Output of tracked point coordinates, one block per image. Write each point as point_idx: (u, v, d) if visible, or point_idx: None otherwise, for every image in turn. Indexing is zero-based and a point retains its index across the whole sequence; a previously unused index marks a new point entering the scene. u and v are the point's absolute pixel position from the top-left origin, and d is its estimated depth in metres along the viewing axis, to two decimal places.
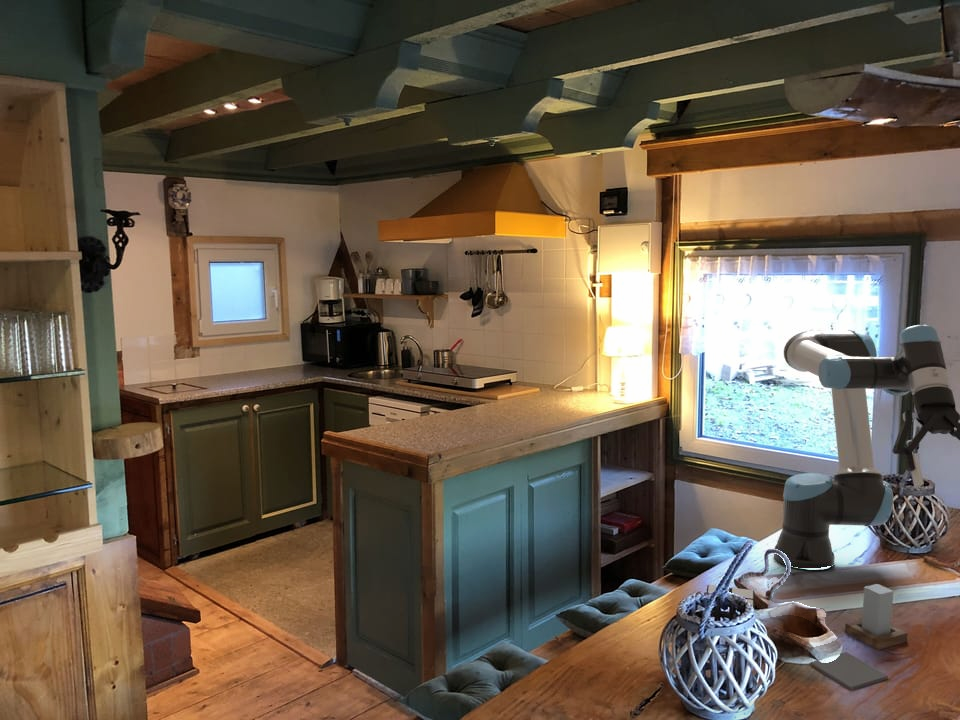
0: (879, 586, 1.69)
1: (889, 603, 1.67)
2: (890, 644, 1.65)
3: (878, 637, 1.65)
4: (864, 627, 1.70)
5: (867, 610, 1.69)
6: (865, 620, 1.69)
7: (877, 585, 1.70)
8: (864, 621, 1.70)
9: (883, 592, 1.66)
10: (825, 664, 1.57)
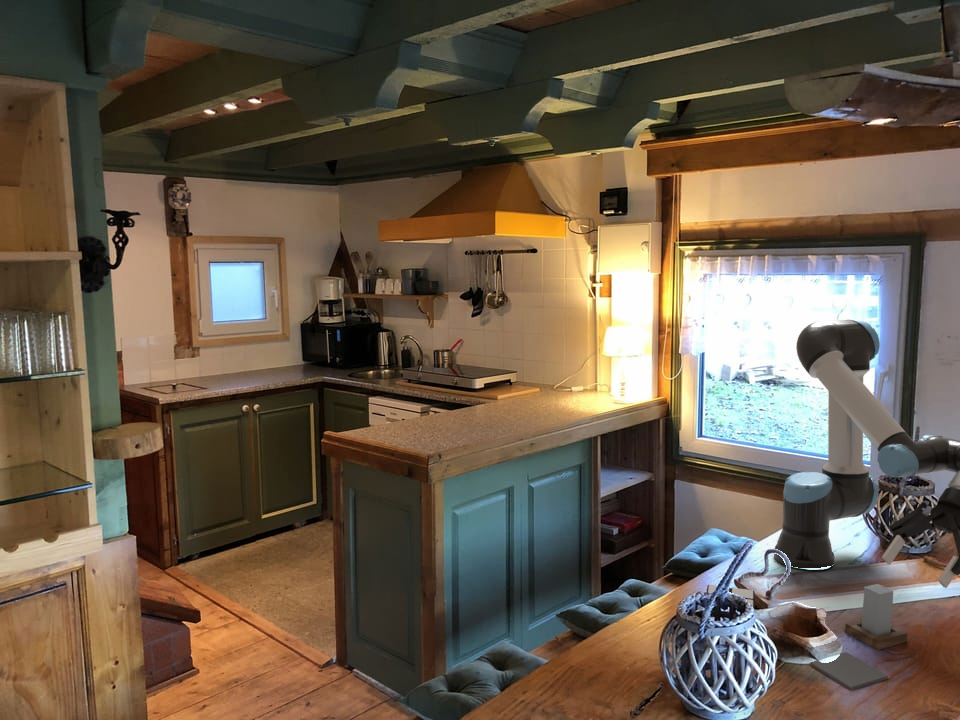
0: (879, 586, 1.69)
1: (889, 603, 1.67)
2: (890, 644, 1.65)
3: (878, 637, 1.65)
4: (864, 627, 1.70)
5: (867, 610, 1.69)
6: (865, 619, 1.69)
7: (877, 585, 1.70)
8: (864, 621, 1.70)
9: (883, 592, 1.66)
10: (825, 664, 1.57)
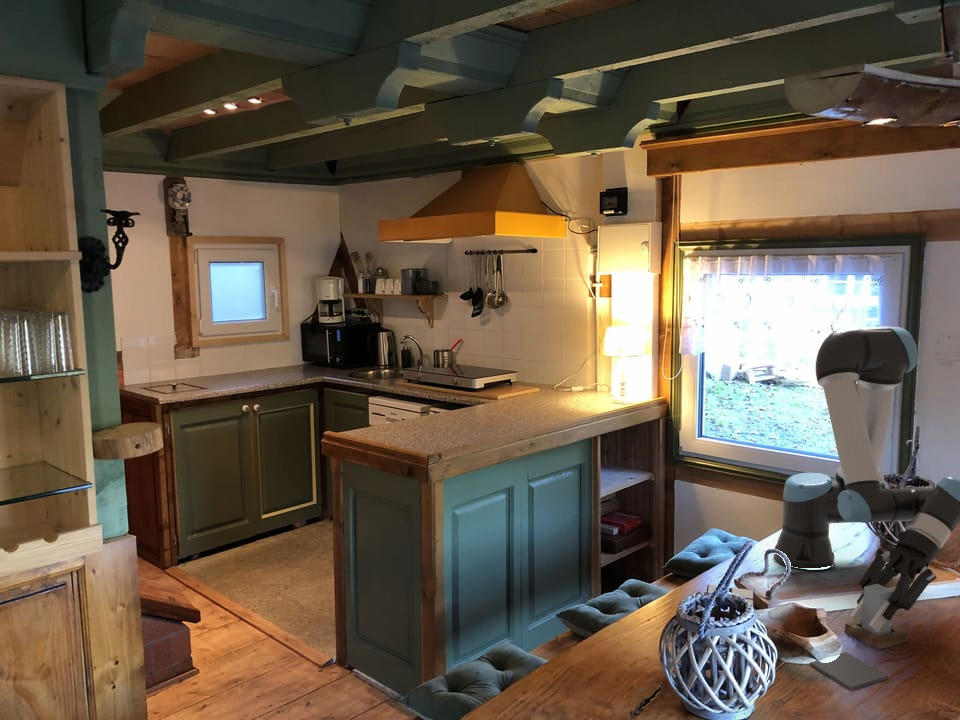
0: (879, 586, 1.69)
1: None
2: (890, 644, 1.65)
3: (878, 637, 1.65)
4: (864, 627, 1.70)
5: (867, 610, 1.69)
6: (865, 619, 1.69)
7: (877, 585, 1.70)
8: (864, 621, 1.70)
9: (883, 592, 1.66)
10: (825, 664, 1.57)
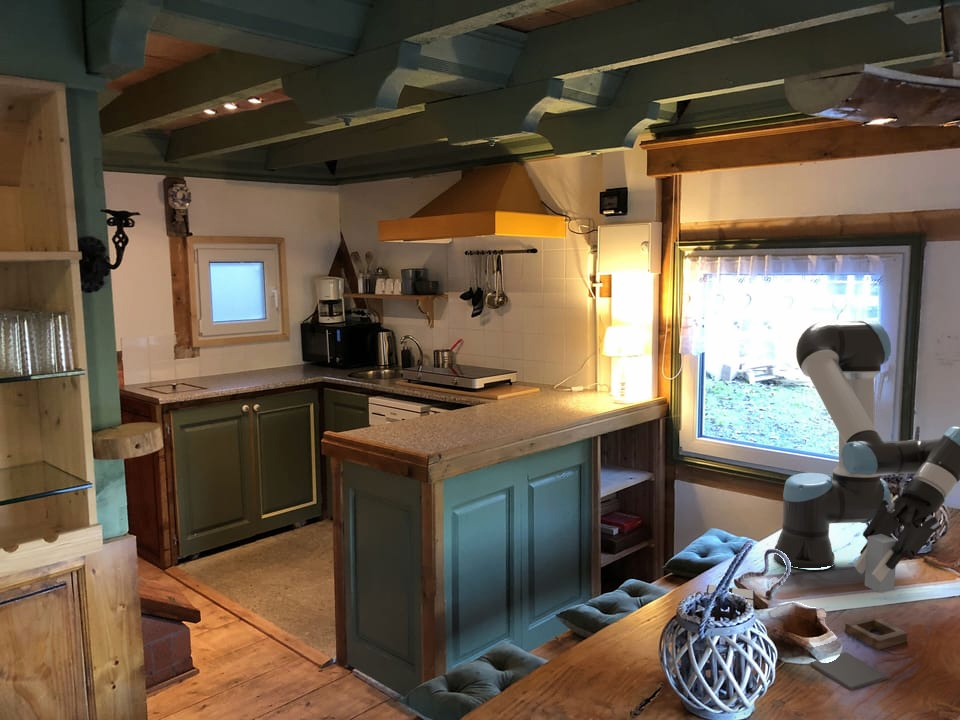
0: (883, 536, 1.66)
1: None
2: (890, 644, 1.65)
3: (878, 637, 1.65)
4: (867, 577, 1.67)
5: (870, 560, 1.66)
6: (868, 570, 1.67)
7: (881, 535, 1.67)
8: (867, 571, 1.67)
9: (886, 541, 1.63)
10: (825, 664, 1.57)
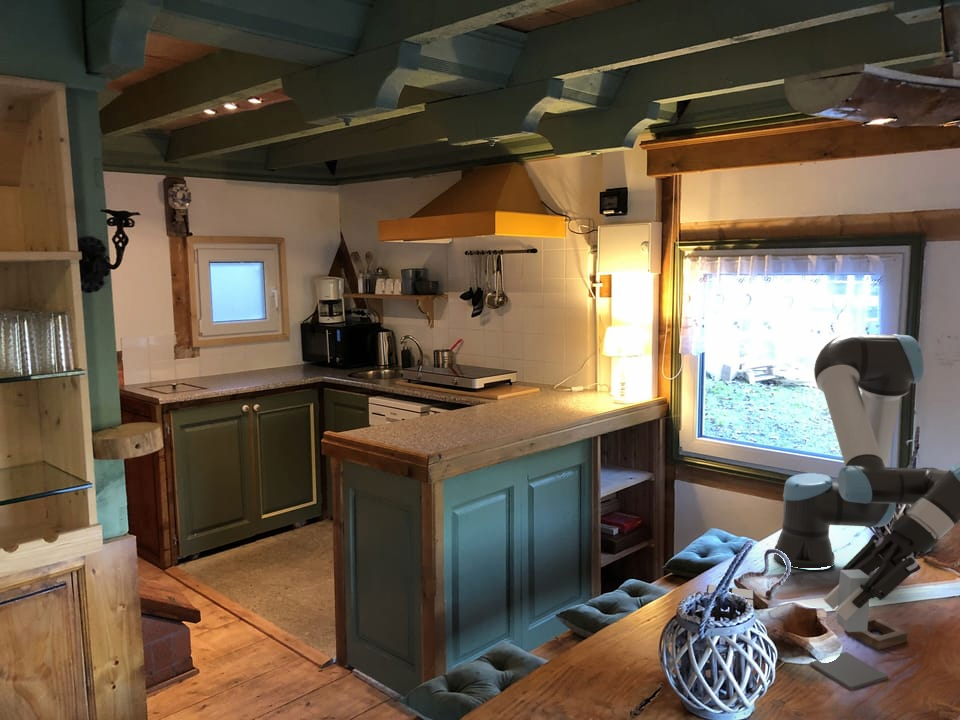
0: (858, 571, 1.54)
1: None
2: (890, 644, 1.65)
3: (878, 637, 1.65)
4: None
5: (841, 596, 1.54)
6: None
7: (858, 570, 1.54)
8: None
9: (856, 577, 1.51)
10: (825, 664, 1.57)
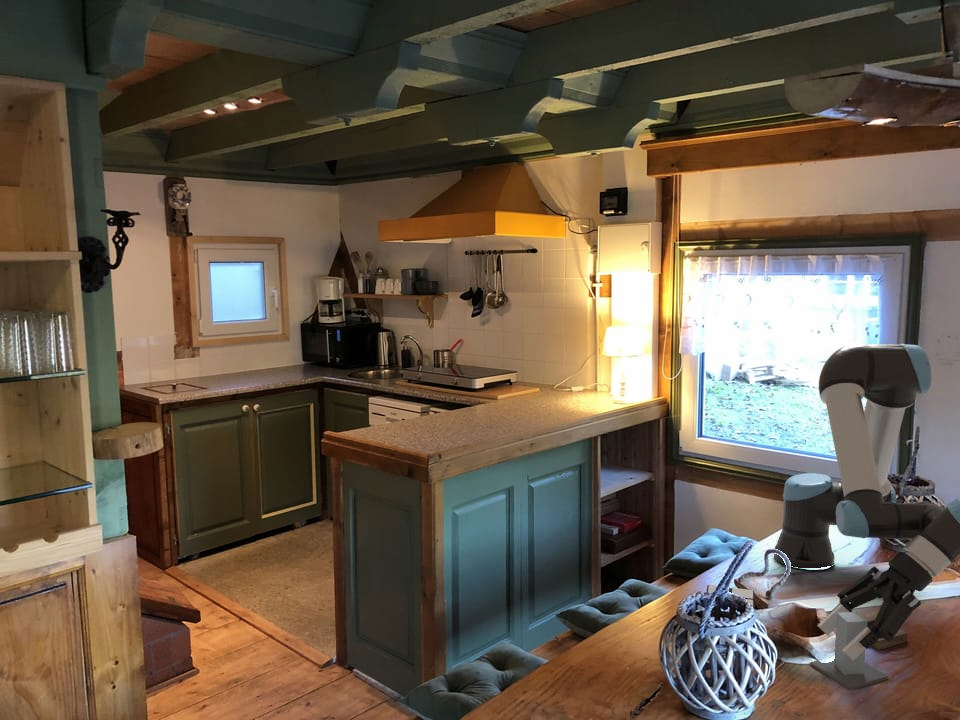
0: (855, 614, 1.55)
1: None
2: (890, 644, 1.65)
3: None
4: (836, 656, 1.57)
5: (838, 639, 1.55)
6: (837, 648, 1.56)
7: (855, 613, 1.56)
8: (836, 650, 1.56)
9: (852, 621, 1.52)
10: (825, 664, 1.57)
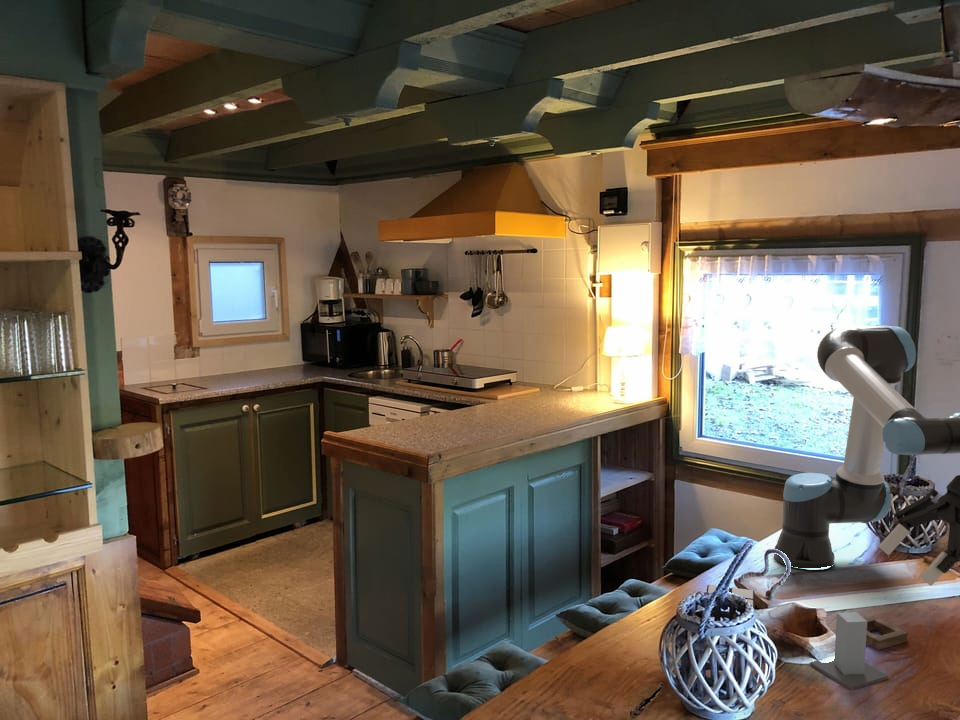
0: (855, 614, 1.55)
1: (861, 634, 1.53)
2: (890, 644, 1.65)
3: (878, 637, 1.65)
4: (836, 656, 1.57)
5: (838, 639, 1.55)
6: (837, 648, 1.56)
7: (855, 613, 1.56)
8: (836, 650, 1.56)
9: (852, 621, 1.52)
10: (825, 664, 1.57)
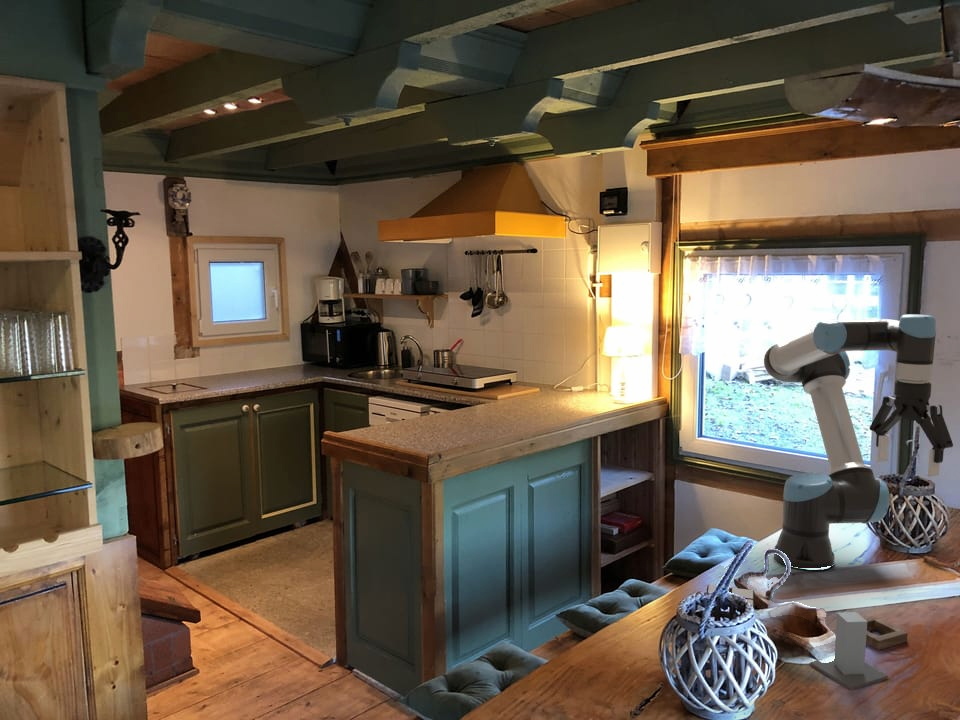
0: (855, 614, 1.55)
1: (861, 634, 1.53)
2: (890, 644, 1.65)
3: (878, 637, 1.65)
4: (836, 656, 1.57)
5: (838, 639, 1.55)
6: (837, 648, 1.56)
7: (855, 613, 1.56)
8: (836, 650, 1.56)
9: (852, 621, 1.52)
10: (825, 664, 1.57)
